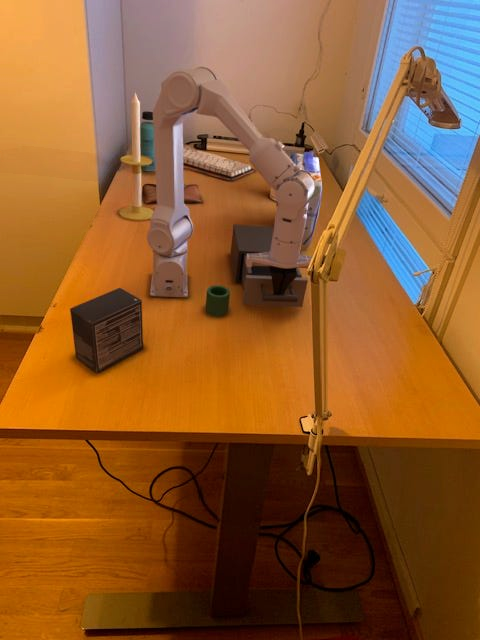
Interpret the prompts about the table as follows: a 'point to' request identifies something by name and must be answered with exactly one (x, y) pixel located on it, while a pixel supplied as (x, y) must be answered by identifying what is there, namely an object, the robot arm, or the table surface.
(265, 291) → the dish drawer
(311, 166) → the lunch box
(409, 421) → the table surface
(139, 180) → the candle
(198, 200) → the sunglasses case
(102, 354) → the small box
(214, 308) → the jar
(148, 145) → the beverage bottle
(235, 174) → the mechanical keyboard
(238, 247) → the drawer cabinet
